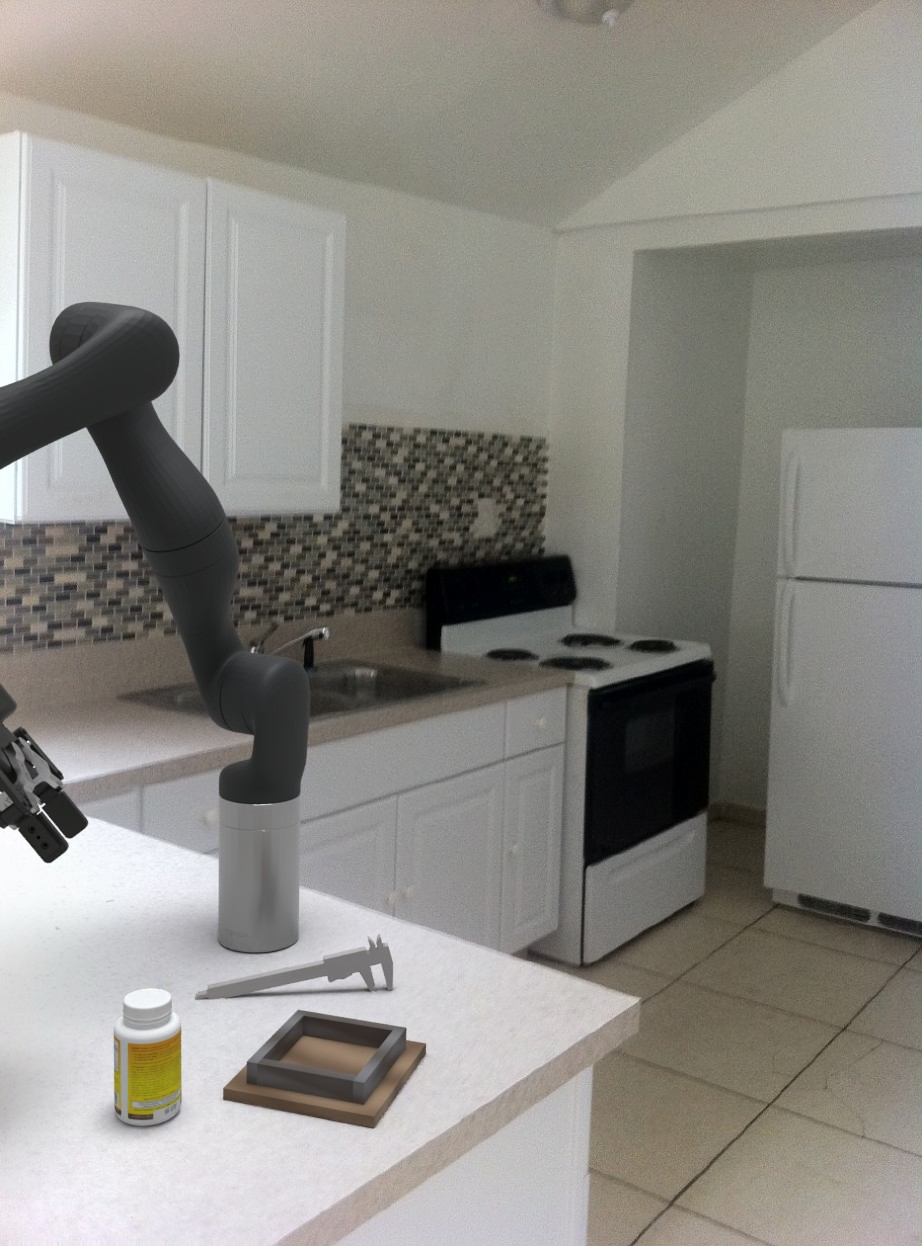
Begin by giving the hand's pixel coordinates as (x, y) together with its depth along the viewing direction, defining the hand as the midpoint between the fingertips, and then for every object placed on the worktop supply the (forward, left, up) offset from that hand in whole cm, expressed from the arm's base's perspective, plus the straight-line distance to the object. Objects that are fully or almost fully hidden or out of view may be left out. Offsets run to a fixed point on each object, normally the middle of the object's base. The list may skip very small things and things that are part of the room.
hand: (70, 843), depth 104 cm
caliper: (-27, +8, -24) cm, 37 cm away
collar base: (-12, +18, -23) cm, 32 cm away
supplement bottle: (-1, +6, -23) cm, 24 cm away
